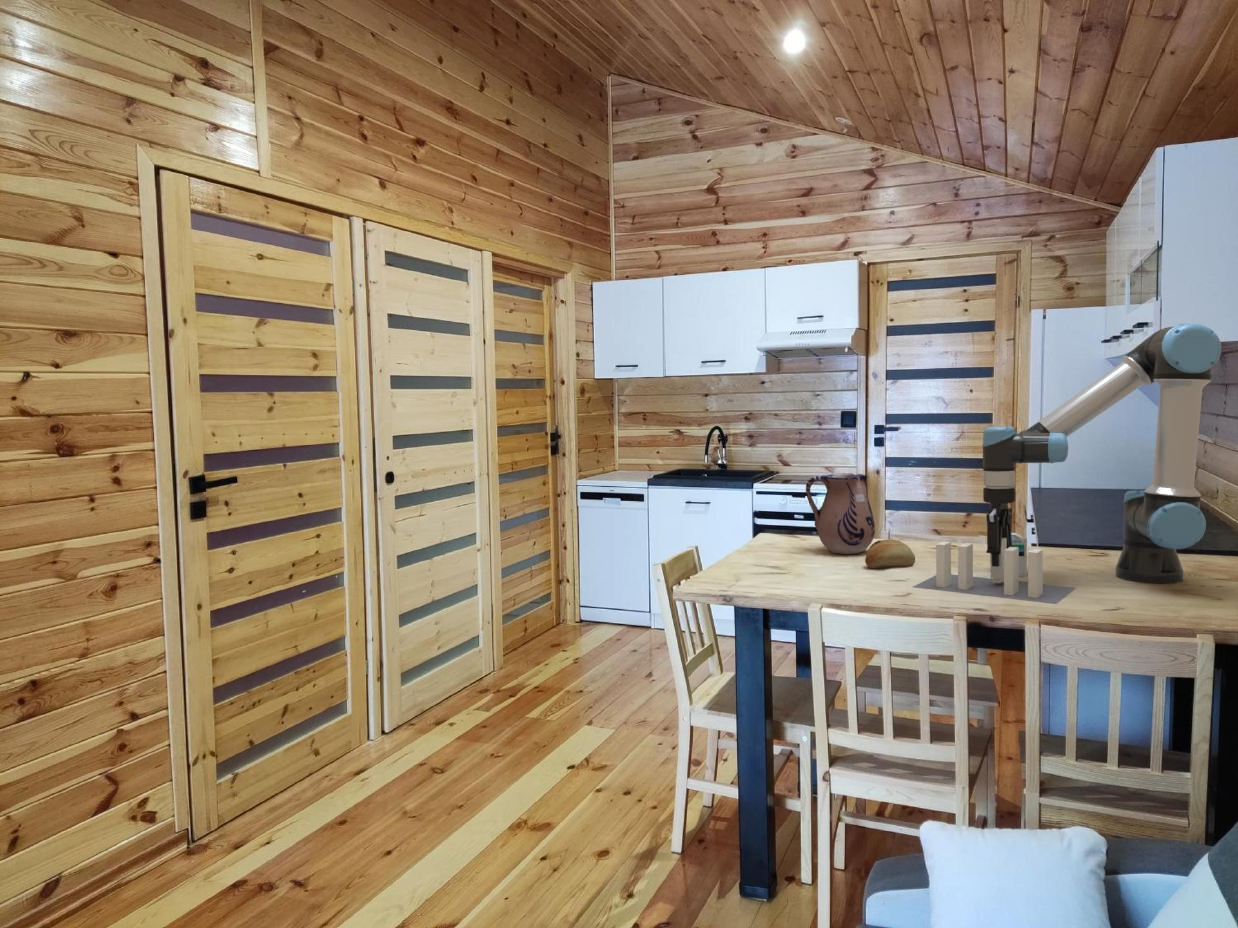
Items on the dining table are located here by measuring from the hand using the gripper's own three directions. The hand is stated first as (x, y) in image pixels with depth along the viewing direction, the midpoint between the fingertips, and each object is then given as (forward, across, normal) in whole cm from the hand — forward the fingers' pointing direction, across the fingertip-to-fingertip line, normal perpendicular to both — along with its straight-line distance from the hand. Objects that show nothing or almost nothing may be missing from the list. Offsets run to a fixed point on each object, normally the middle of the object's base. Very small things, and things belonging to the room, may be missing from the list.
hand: (1000, 576), depth 220 cm
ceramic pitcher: (+2, -23, -55) cm, 60 cm away
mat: (+2, +5, 0) cm, 6 cm away
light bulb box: (+3, -16, -2) cm, 16 cm away
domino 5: (+2, +9, +11) cm, 14 cm away
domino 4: (+2, +9, +5) cm, 11 cm away
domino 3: (+1, 0, 0) cm, 1 cm away
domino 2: (+2, +9, -6) cm, 11 cm away
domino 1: (+2, +9, -11) cm, 15 cm away
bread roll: (+3, -9, -33) cm, 34 cm away
